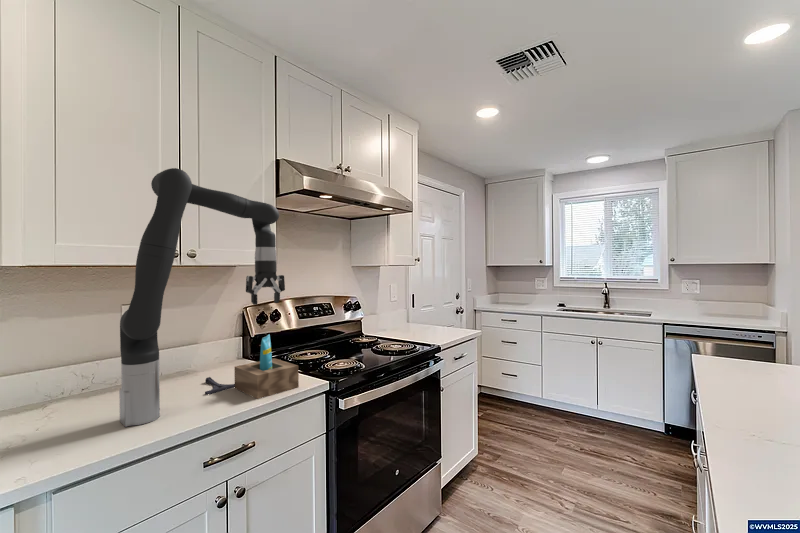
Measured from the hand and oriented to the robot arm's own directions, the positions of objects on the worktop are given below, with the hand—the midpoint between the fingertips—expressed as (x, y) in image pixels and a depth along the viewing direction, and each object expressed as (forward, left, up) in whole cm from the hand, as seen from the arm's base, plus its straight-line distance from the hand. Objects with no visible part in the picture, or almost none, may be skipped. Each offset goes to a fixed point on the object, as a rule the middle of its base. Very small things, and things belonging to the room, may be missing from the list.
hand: (266, 303), depth 139 cm
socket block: (0, 0, -31) cm, 31 cm away
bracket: (-11, +17, -32) cm, 38 cm away
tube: (0, 0, -31) cm, 31 cm away
